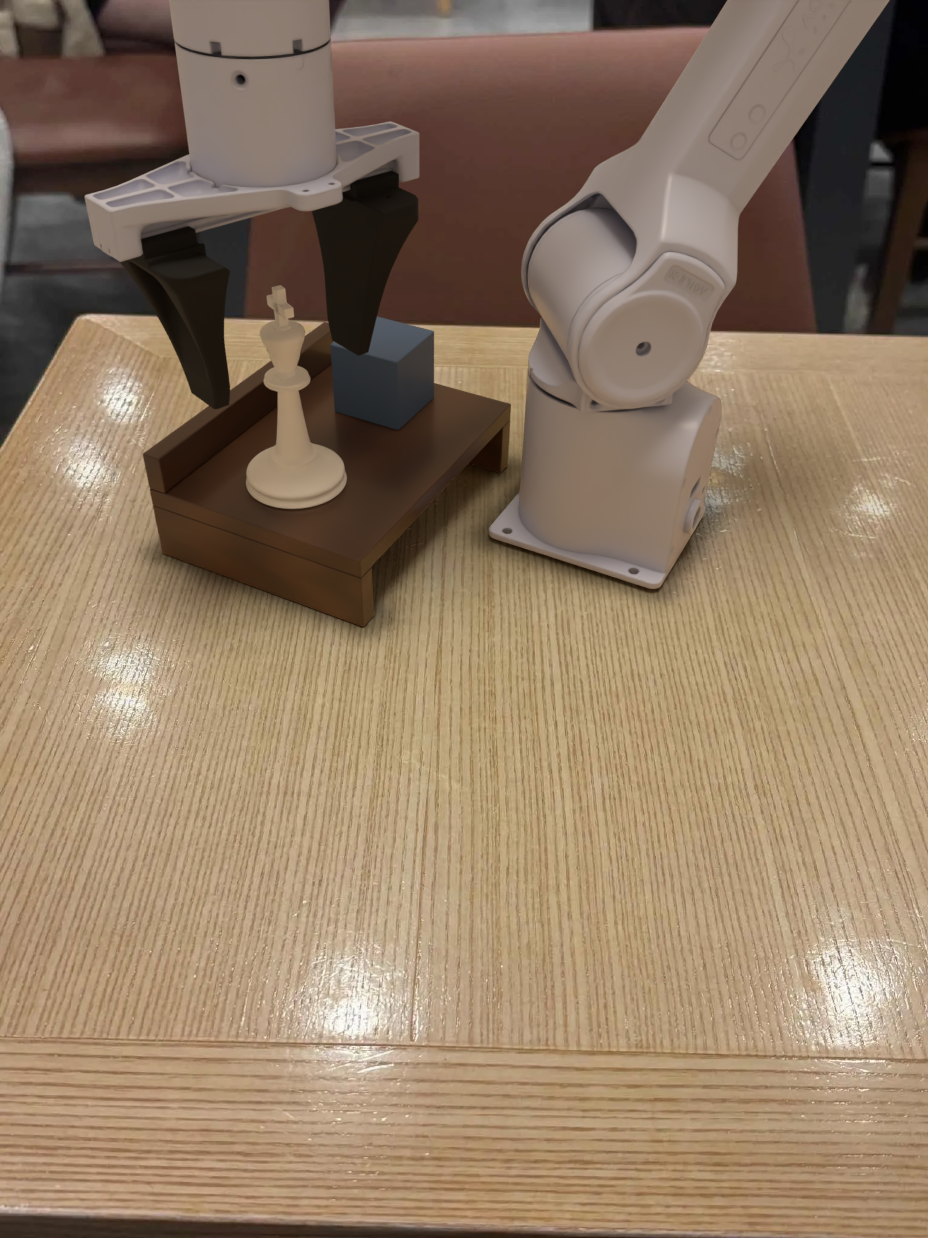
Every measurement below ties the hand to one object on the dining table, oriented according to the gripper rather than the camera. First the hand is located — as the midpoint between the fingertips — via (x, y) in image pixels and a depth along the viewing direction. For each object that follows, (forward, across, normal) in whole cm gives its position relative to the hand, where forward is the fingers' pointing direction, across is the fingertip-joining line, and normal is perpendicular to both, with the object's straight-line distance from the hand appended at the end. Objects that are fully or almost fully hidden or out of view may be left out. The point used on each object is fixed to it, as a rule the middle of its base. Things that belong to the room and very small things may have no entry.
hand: (283, 371), depth 49 cm
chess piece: (+7, 0, 0) cm, 7 cm away
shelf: (+10, +4, +2) cm, 11 cm away
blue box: (+6, +8, +3) cm, 11 cm away
